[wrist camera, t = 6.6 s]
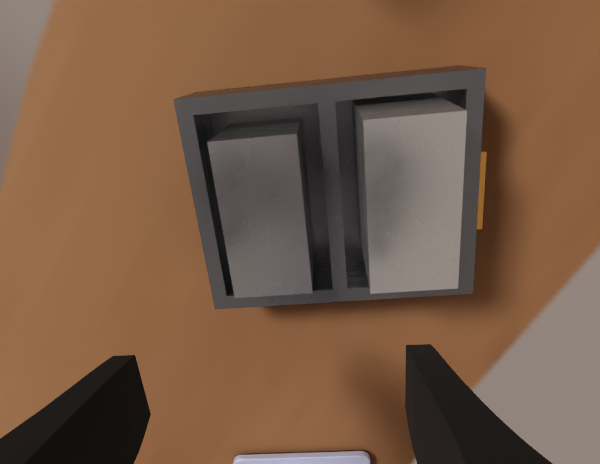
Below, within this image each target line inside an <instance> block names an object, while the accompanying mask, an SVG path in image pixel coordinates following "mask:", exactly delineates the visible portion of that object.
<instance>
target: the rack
mask: <svg viewBox="0 0 600 464" xmlns="http://www.w3.org/2000/svg"><path fill="white" fill-rule="evenodd" d="M485 74H486V68H478V67H468V66H452V67H442V68H432V69H422V70H412V71H402V72H392V73H382V74H372V75H363V76H353V77H343V78H333V79H323V80H313V81H303V82H293V83H283V84H273V85H264V86H254V87H244V88H234V89H224V90H214V91H204V92H195V93H192V94H189V95H186V96H183V97H180V98H177V99H174V104H175V109H176V114H177V120H178V125H179V130H180V135H181V140H182V145H183V150H184V155H185V160H186V165H187V170H188V175H189V180H190V185H191V190H192V195H193V200H194V205H195V210H196V215H197V220H198V226H199V231H200V236H201V241H202V246H203V251H204V256H205V261H206V266H207V271H208V276H209V281H210V286H211V291H212V296H213V301H214V306H215V309H227V308H244V307H261V306H277V305H294V304H311V303H327V302H344V301H361V300H378V299H394V298H411V297H428V296H444V295H461V294H473V288H474V270H475V252H476V234H477V229H482V222H483V206H484V190H485V173H486V157H487V152H486V151H485V150H483V149H481V145H482V127H483V110H484V92H485ZM427 92H431V93H433V94H435V95H437V96H439V97H441V98H443V99H445V100H447V101H449V102H451V103H453V104H455V105H457V106H459V107H461V108H463V109H465V110H467V122H466V141H465V161H464V181H463V200H462V220H461V240H460V260H459V279H458V288H457V289H441V290H425V291H408V292H392V293H375V294H370V289H369V284H368V279H367V274H366V268H365V263H364V258H363V253H362V247H361V242H360V237H359V222H358V202H357V182H356V162H355V142H354V122H353V102H352V100H355V99H365V98H375V97H386V96H396V95H406V94H417V93H427Z"/></svg>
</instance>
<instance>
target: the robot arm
mask: <svg viewBox="0 0 600 464" xmlns="http://www.w3.org/2000/svg"><path fill="white" fill-rule="evenodd" d="M405 408H406V414H407V419H408V425H409V431H410V436H411V441H412V447H413V450H414V454H415V457H416V460H417V464H552V463H551V462H549V461H548V460H547V459H545V458H544V457H543V456H542V455H541V454H539V453H538V452H537V451H536V450H534V449H533V448H532V447H531V446H529V445H528V444H527V443H526V442H525V441H524V440H523V439H521V438H520V437H519V436H518V435H517V434H516V433H515V432H513V431H512V430H511V429H510V428H509V427H508V426H507V425H506V424H505V423H503V421H502V420H500V419H499V418H498V417H497V416H496V415H495V414H494V413H493V412H492V411H491V410H490V409H489V408H488V407H487V406H486V405H485V404H484V403H483V402H482V401H481V400H480V399H479V398H478V397H477V396H476V395H475V394H474V393H473V392H472V390H471V389H470V388H469V387H468V386H467V385H466V384H465V383H464V382H463V381H462V380H461V379H460V378H459V376H458V375H457V374H456V373H455V372H454V371H453V370H452V368H451V367H450V366H449V365H448V364H447V363H446V361H445V360H444V359H443V358H442V357H441V355H440V354H439V353H438V352H437V351H436V349H435V348H434V347H433V346H432V345H430V344H426V345H406V401H405ZM150 415H151V414H150V410H149V406H148V403H147V399H146V395H145V391H144V387H143V384H142V380H141V376H140V372H139V369H138V365H137V361H136V357H135V355H128V356H113V357H111V358H110V359H108V360H107V361H105V362H104V363H102V364H101V365H100V366H98V367H97V368H96V369H94V370H93V371H92V372H90V373H89V374H88V375H86V376H85V377H84V378H82V379H81V380H80V381H78V382H77V383H76V384H75V385H73V386H72V387H71V388H69V389H68V390H67V391H65V392H64V393H63V394H61V395H60V396H59V397H58V398H56V399H55V400H54V401H52V402H51V403H50V404H48V405H47V406H46V407H44V408H43V409H42V410H40V411H39V412H37V413H36V414H35V415H33V416H32V417H30V418H29V419H28V420H26V421H25V422H23V423H22V424H21V425H19V426H18V427H16V428H15V429H13V430H12V431H11V432H9V433H8V434H6V435H5V436H4V437H2V438H1V439H0V464H134V461H135V459H136V457H137V455H138V452H139V450H140V447H141V444H142V441H143V438H144V435H145V431H146V428H147V425H148V421H149V418H150ZM233 464H370V456H369V454H368V453H366V452H364V451H344V452H313V453H282V454H251V455H238V456H236V457H235V458H234V462H233Z"/></svg>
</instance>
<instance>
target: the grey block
mask: <svg viewBox="0 0 600 464" xmlns="http://www.w3.org/2000/svg"><path fill="white" fill-rule="evenodd" d="M352 102H353V122H354V142H355V162H356V182H357V202H358V222H359V237H360V242H361V247H362V253H363V258H364V263H365V268H366V274H367V279H368V284H369V289H370V294H375V293H392V292H408V291H425V290H441V289H457V288H458V279H459V260H460V240H461V220H462V200H463V181H464V161H465V141H466V122H467V110H465V109H463V108H461V107H459V106H457V105H455V104H453V103H451V102H449V101H447V100H445V99H443V98H441V97H439V96H437V95H435V94H433V93H431V92H427V93H417V94H406V95H396V96H386V97H375V98H365V99H355V100H352Z"/></svg>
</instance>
